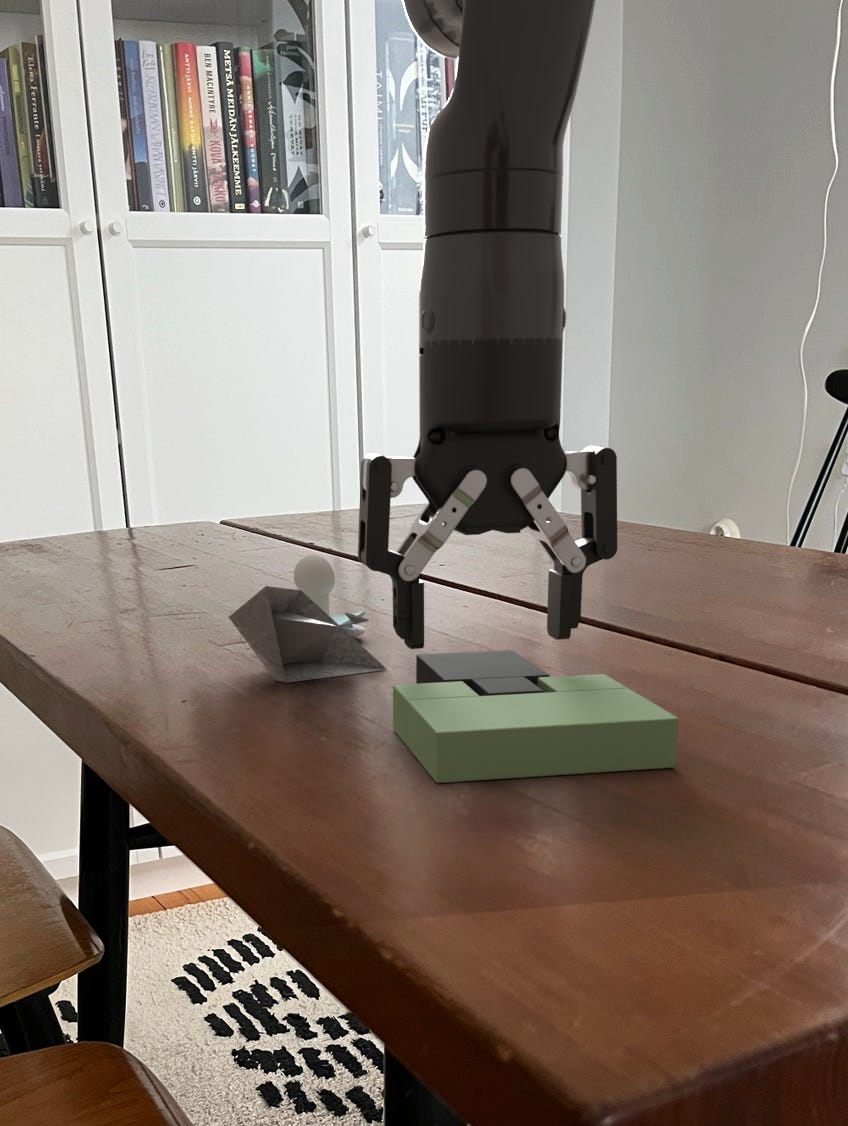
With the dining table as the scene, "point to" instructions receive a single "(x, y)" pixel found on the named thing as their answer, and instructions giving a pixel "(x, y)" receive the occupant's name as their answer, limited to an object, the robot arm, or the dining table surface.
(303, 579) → the pacifier
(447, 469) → the robot arm
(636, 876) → the dining table surface
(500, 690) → the black pad
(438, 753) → the green pad
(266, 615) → the paper boat
